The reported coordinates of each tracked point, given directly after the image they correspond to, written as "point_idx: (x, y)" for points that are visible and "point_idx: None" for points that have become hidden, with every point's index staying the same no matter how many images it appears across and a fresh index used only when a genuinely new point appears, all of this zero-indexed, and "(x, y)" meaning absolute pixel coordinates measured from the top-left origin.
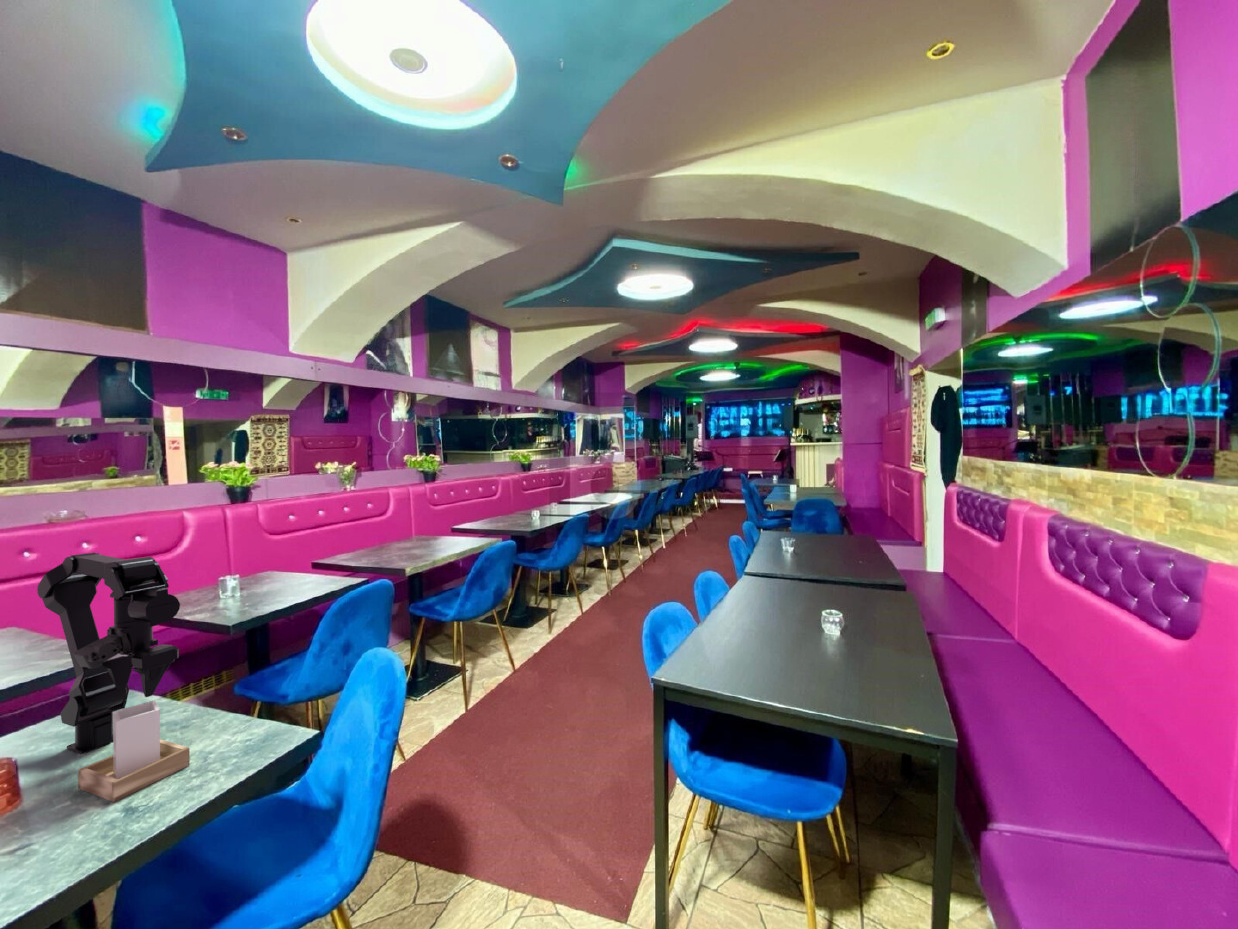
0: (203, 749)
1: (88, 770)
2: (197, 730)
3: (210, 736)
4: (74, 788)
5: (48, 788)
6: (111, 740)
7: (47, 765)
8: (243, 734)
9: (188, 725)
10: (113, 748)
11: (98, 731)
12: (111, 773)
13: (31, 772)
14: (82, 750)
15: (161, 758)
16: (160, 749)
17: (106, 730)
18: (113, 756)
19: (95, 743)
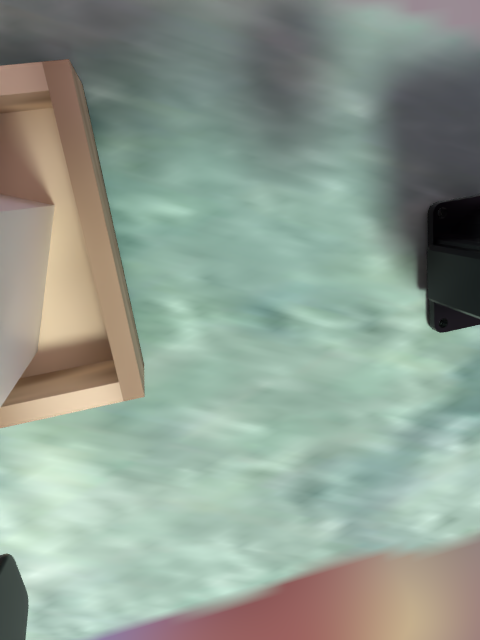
0: (4, 490)
1: (2, 86)
2: (227, 513)
3: (115, 532)
4: (115, 82)
5: (226, 24)
6: (429, 298)
7: (462, 99)
8: None
9: (309, 503)
10: (6, 205)
11: (472, 264)
12: (56, 198)
13: (457, 43)
14: (450, 208)
15: None
16: (46, 384)
17: (464, 292)
18: (26, 205)
19: (438, 247)
